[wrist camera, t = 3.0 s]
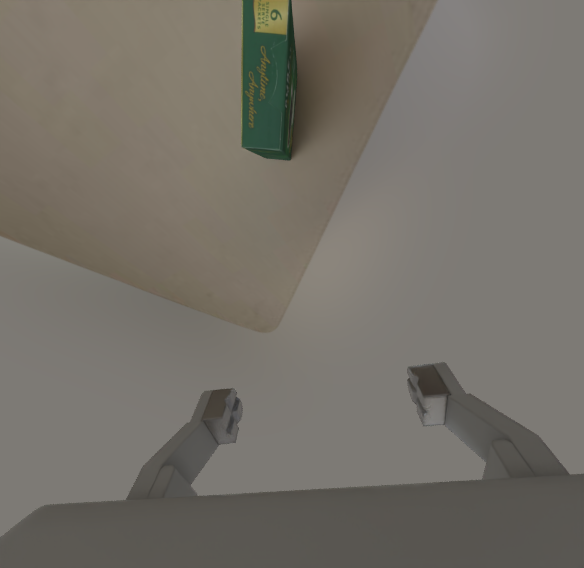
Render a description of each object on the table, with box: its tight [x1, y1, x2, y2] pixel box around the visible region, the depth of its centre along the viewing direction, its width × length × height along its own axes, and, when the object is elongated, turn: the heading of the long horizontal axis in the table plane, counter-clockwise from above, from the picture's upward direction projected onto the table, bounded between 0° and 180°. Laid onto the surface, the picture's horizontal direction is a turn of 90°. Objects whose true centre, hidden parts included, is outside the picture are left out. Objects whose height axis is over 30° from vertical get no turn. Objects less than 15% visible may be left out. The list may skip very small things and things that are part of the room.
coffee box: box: [241, 0, 297, 160], centre depth 21 cm, size 8×3×13 cm, turn 176°
